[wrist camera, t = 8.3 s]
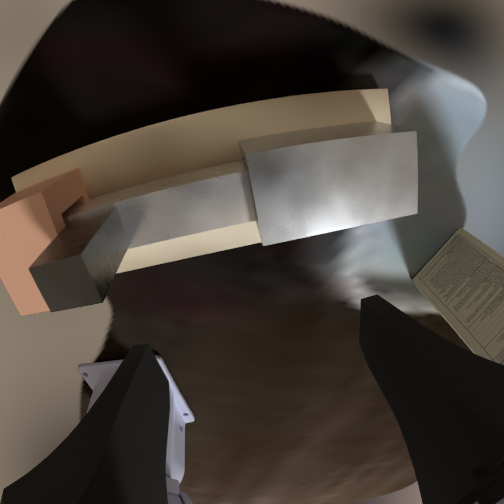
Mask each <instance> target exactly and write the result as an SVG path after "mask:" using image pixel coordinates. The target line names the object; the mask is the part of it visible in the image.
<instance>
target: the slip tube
mask: <svg viewBox="0 0 504 504" xmlns="http://www.w3.org/2000/svg"><path fill="white" fill-rule="evenodd" d="M61 215H62V218H63V220H64V223H65V226H66V227H65V228H64V229H63V230H62V231H61V232H60V233H59V234H58V235H57V236H56V237H55V239H54V240H53V241H52V242H51V243H50V244H49V245H48V246H47V247H46V248H45V250H44V251H43V252H42V253H41V254H40V255H39V256H38V258H37V259H36V260H35V261H34V262H33V263H32V265H31V266H30V267H29V268H28V269H29V271H30V273H31V275H32V277H33V279H34V281H35V283H36V285H37V287H38V289H39V291H40V293H41V295H42V297H43V298H44V300H45V302H46V304H47V306H48V308H49V309H50V311H51V312H55V311H60V310H66V309H71V308H77V307H82V306H88V305H93V304H98V303H103V301H104V299H105V297H106V294H107V292H108V290H109V288H110V285H111V283H112V281H113V279H114V277H115V274H116V272H117V270H118V268H119V266H120V264H121V262H122V260H123V258H124V255H125V253H126V251H127V249H131V248H135V247H139V246H144V245H148V244H152V243H157V242H161V241H165V240H170V239H174V238H178V237H183V236H187V235H192V234H196V233H201V232H205V231H210V230H214V229H219V228H224V227H228V226H233V225H237V224H242V223H247V222H252V221H256V220H257V215H256V210H255V204H254V199H253V194H252V188H251V183H250V178H249V173H248V168H247V164H246V162H245V160H241V161H236V162H231V163H227V164H222V165H217V166H213V167H208V168H204V169H200V170H195V171H191V172H187V173H183V174H179V175H175V176H171V177H167V178H163V179H159V180H155V181H151V182H148V183H144V184H140V185H137V186H133V187H129V188H126V189H122V190H119V191H116V192H112V193H109V194H105V195H102V196H99V197H96V198H92V199H89V200H86V201H83V202H80V203H77V204H74V205H71V206H70V207H69V208H68V209H66V210H65V211H64V212H63V213H62V214H61Z"/></svg>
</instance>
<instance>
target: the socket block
mask: <svg viewBox="0 0 504 504" xmlns="http://www.w3.org/2000/svg"><path fill="white" fill-rule="evenodd" d="M86 200H89V198H88V195H87V192H86V189H85V186H84V183H83V179H82V176H81V173H80V170H79V168H76V169H73V170H70V171H68V172H65V173H62V174H60V175H57V176H55V177H52V178H49V179H47V180H44V181H42V182H39V183H37V184H35V185H32V186H30V187H27V188H25V189H23V190H20V191H18V192H16V193H14V194H13V195H11V196H10V197H8V198H7V199H5V200H4V201H2V202H1V203H0V278H1V280H2V282H3V284H4V286H5V288H6V290H7V292H8V294H9V295H10V297H11V299H12V301H13V303H14V304H15V306H16V308H17V310H18V311H19V313H20V315H21V316H25V315H30V314H36V313H41V312H46V311H50V309H49V308H48V306H47V304H46V302H45V300H44V298H43V297H42V295H41V293H40V291H39V289H38V287H37V285H36V283H35V281H34V279H33V277H32V275H31V273H30V271H29V269H28V268H29V267H30V266H31V265H32V263H33V262H34V261H35V260H36V259H37V258H38V256H39V255H40V254H41V253H42V252H43V251H44V250H45V248H46V247H47V246H48V245H49V244H50V243H51V242H52V241H53V240H54V239H55V237H56V236H57V235H58V234H59V233H60V232H61V231H62V230H63V229H64V228H65V227H66V226H65V223H64V220H63V218H62V215H61V214H62V213H63V212H64V211H65V210H66V209H68V208H69V207H70V206H71V205H74V204H77V203H80V202H83V201H86Z"/></svg>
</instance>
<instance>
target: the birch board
mask: <svg viewBox="0 0 504 504" xmlns="http://www.w3.org/2000/svg"><path fill="white" fill-rule="evenodd" d="M372 121H378V122H382V123H387V124H391V116H390V105H389V96H388V89H380V88H379V89H359V90H344V91H332V92H321V93H312V94H303V95H295V96H287V97H280V98H274V99H267V100H261V101H255V102H249V103H244V104H238V105H233V106H228V107H223V108H218V109H213V110H209V111H204V112H200V113H195V114H191V115H187V116H183V117H179V118H175V119H171V120H167V121H164V122H160V123H156V124H153V125H149V126H146V127H142V128H139V129H136V130H132V131H129V132H126V133H123V134H120V135H116V136H113V137H110V138H107V139H104V140H102V141H99V142H96V143H93V144H90V145H87V146H85V147H82V148H79V149H77V150H74V151H71V152H69V153H66V154H64V155H61V156H59V157H56V158H54V159H51V160H49V161H46V162H44V163H42V164H39V165H37V166H35V167H32V168H30V169H28V170H26V171H23V172H21V173H19V174H17V175H15V176H14V177H12V182H13V185H14V188H15V191H16V192H18V191H20V190H23V189H25V188H27V187H30V186H32V185H35V184H37V183H39V182H42V181H44V180H47V179H49V178H52V177H55V176H57V175H60V174H62V173H65V172H68V171H70V170H73V169H76V168H79V170H80V173H81V176H82V179H83V183H84V186H85V189H86V192H87V195H88V198H89V199H92V198H96V197H99V196H102V195H105V194H109V193H112V192H116V191H119V190H122V189H126V188H129V187H133V186H137V185H140V184H144V183H148V182H151V181H155V180H159V179H163V178H167V177H171V176H175V175H179V174H183V173H187V172H191V171H195V170H200V169H204V168H208V167H213V166H217V165H222V164H227V163H231V162H236V161H241V160H242V157H241V152H240V147H239V141H240V140H245V139H250V138H256V137H261V136H267V135H272V134H278V133H284V132H291V131H297V130H304V129H311V128H318V127H326V126H334V125H342V124H351V123H361V122H372ZM260 242H262V241H261V238H260V235H259V232H258V229H257V226H256V222H255V221H252V222H247V223H242V224H237V225H233V226H228V227H224V228H219V229H214V230H210V231H205V232H201V233H196V234H192V235H187V236H183V237H178V238H174V239H170V240H165V241H161V242H157V243H152V244H148V245H144V246H139V247H135V248H131V249H127V251H126V253H125V255H124V258H123V260H122V262H121V264H120V266H119V268H118V270H117V272H116V273H121V272H125V271H130V270H134V269H139V268H143V267H148V266H153V265H157V264H162V263H166V262H171V261H176V260H180V259H185V258H189V257H194V256H199V255H203V254H208V253H213V252H217V251H222V250H227V249H231V248H236V247H241V246H245V245H250V244H255V243H260Z"/></svg>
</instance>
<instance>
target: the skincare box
mask: <svg viewBox="0 0 504 504" xmlns="http://www.w3.org/2000/svg"><path fill="white" fill-rule="evenodd" d="M412 282H413V283H414V284H415V285H416V287H417V288H418V289H419V290H420V291H421V293H422V294H423V295H424V296H425V297H426V298H427V299H428V301H429V302H430V303H431V304H432V305H433V306H434V307H435V309H436V310H437V311H438V312H439V313H440V314H441V315H442V316H443V318H444V319H445V320H446V321H447V322H448V323H449V324H450V326H451V327H452V328H453V329H454V330H455V331H456V333H457V334H458V335H459V336H460V337H461V339H462V340H463V341H464V342H465V343H466V345H467V346H468V347H469V348H470V349H471V351H472V352H473V353H474V354H476V355H479V356H481V357H483V358H486V359H489V360H491V361H494V362H497V363H500V364H502V365H504V257H502V256H501V255H500V254H498V253H497V252H496V251H494V250H493V249H491V248H490V247H489V246H487V245H486V244H484V243H483V242H482V241H480V240H478V239H477V238H476V237H474V236H472V235H471V234H470V233H468V232H467V231H465V230H464V229H462V228H459V229H458V230H457V231H456V232H455V233H454V234H453V235H452V237H451V238H450V239H449V240H448V241H447V242H446V243H445V244H444V245H443V247H442V248H441V249H440V250H439V251H438V252H437V253H436V254H435V256H434V257H433V258H432V259H431V260H430V261H429V262H428V263H427V264H426V265H425V266H424V267H423V268H422V270H421V271H420V272H419V273H418V274H417V275H416V276H415V277H414V278H413V280H412Z"/></svg>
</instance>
